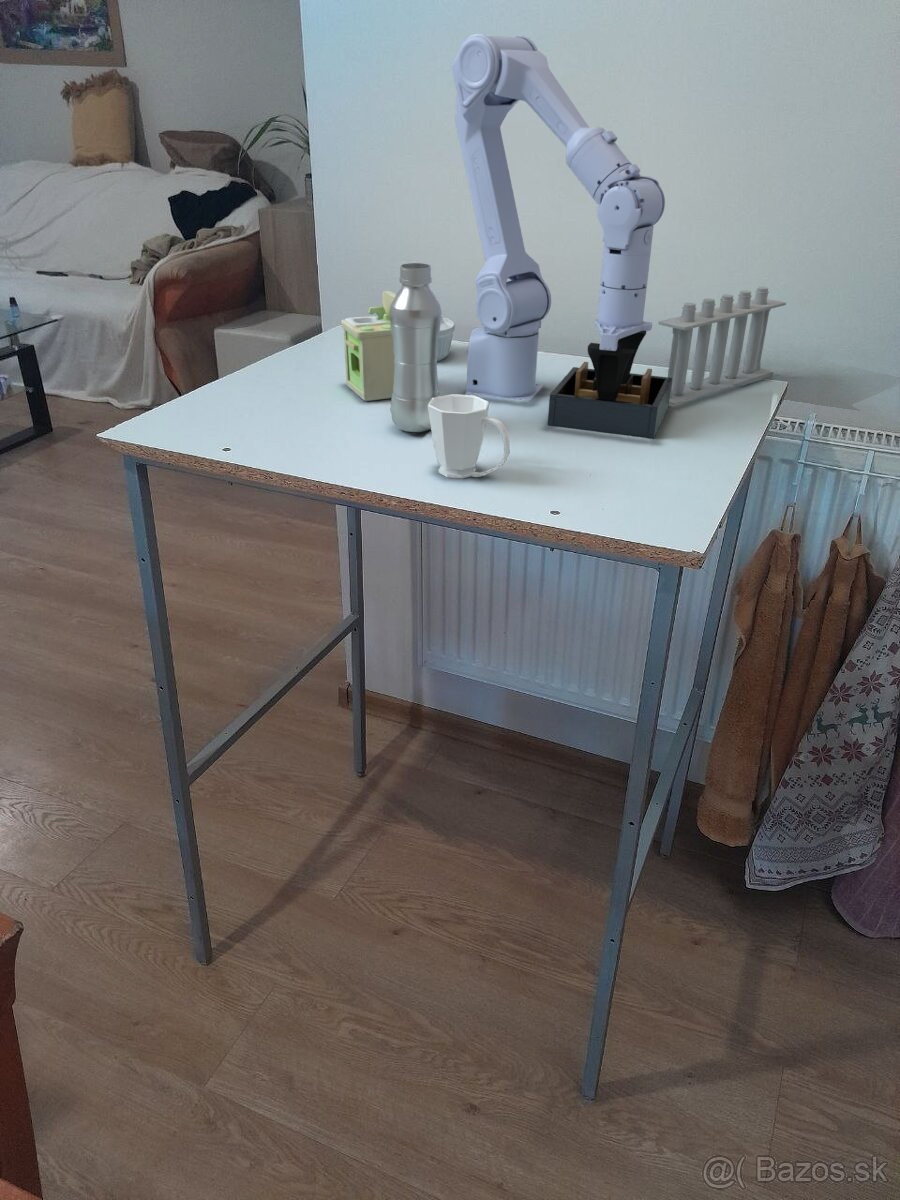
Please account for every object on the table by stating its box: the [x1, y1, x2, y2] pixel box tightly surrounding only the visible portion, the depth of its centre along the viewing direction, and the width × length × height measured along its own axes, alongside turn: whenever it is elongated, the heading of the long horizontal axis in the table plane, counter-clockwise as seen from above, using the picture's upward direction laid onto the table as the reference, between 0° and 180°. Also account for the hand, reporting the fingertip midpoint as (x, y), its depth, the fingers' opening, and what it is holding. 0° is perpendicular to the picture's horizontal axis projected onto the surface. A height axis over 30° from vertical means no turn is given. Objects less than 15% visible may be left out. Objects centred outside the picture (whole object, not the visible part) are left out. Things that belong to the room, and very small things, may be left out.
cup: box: [428, 393, 511, 480], centre depth 105 cm, size 7×10×8 cm
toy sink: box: [340, 290, 397, 402], centre depth 131 cm, size 8×7×13 cm
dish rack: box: [574, 361, 653, 404], centre depth 123 cm, size 9×5×6 cm, turn 71°
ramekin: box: [437, 316, 456, 362], centre depth 149 cm, size 11×11×5 cm
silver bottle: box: [389, 262, 443, 433], centre depth 115 cm, size 6×7×20 cm
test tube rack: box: [658, 286, 787, 406], centre depth 135 cm, size 25×4×13 cm, turn 132°
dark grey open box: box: [547, 366, 673, 440], centre depth 124 cm, size 14×14×5 cm
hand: (612, 392), depth 123 cm, fingers open, 7 cm apart
